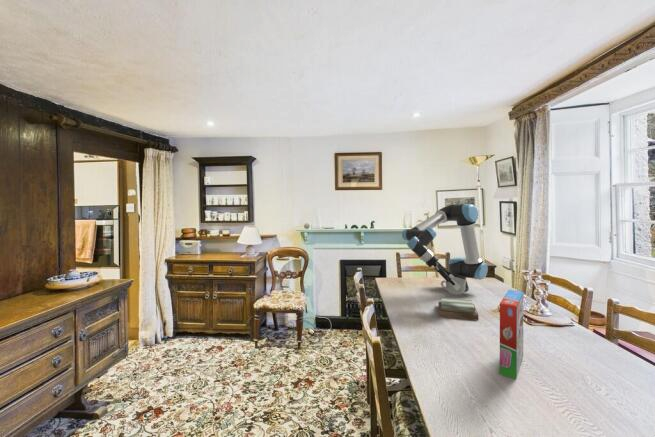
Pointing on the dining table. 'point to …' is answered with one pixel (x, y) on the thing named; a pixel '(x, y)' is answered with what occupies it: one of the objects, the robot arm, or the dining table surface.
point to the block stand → (457, 309)
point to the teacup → (451, 289)
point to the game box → (511, 333)
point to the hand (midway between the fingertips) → (458, 286)
